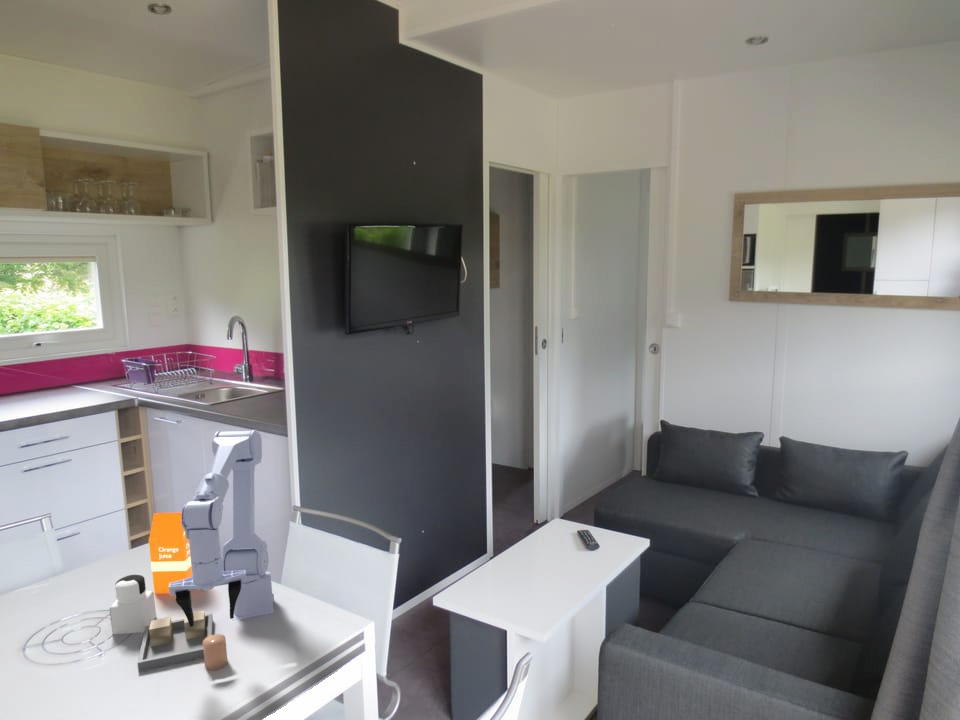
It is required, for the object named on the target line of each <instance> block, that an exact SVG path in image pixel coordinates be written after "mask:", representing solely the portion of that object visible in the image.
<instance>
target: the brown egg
mask: <svg viewBox="0 0 960 720" xmlns="http://www.w3.org/2000/svg"><path fill="white" fill-rule="evenodd" d="M226 641H227V640H226V636H225V635H224V634H221V633H217V634H216V633H215V634H213V635H211V636H209V637H207V638H205V639H204V640H203V652H204V658H203V659H204V660H203V661H204V667H205V669H206V670H207V671H209V672H210V671H211V672H212V671H218V670H221V669H223V668H224V667H226V666H227V664H228V662H229V661H228V650H227V642H226Z"/></svg>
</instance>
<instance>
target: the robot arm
mask: <svg viewBox="0 0 960 720" xmlns="http://www.w3.org/2000/svg"><path fill="white" fill-rule="evenodd" d="M262 443H263V442H262V436H261V433H260V432H259V430H257V429H252V430H233V431H232V430H230V431H229V430H227V431H226V430H225V431H221V430H217V431H216V432H215V434H214V435H213V437H212V442H211V448H212V449H211V451H212V452H213V456H214V459H213V461H212V465H211V468H210V471H209V472H210V473H207V474H205V475H204V476H203V477H202V478H201V480H200V482H199V484H198V487H197V489H196V491H195V493H194V495H193V497H192V500H190V501H188V502H187V503H185V504H184V505H183V507H182V509H181V512H180V513H181V525H182V528H183V529H184V531H185V538H186V539H188V540H189V548H190V558H191V568H192V577H189V578H186V579H183V580H180V581H176V582H172V583H169V593H168V594H169V596H170V597H171V596H175V602H176V604H177V605H178V606H179V607H180V609H181V610H182V611H183V613H184V616H185V615H186V617H187V619H188V622H189V625H190V627H192V626H194V616H193V612H194V611H193V607H192V594H191V591H197V590H202V591H210V590H213V589H214V588H215V587H218V586H219V587H220V586H224V585H225V586H226V585H227V590H228V600H229V618H230V620H231V621H237V620H242V619H243V620H244V619H248V618H252V617H257V616H263V615H268V614H272V613H274V612H275V610H274V602H275V595H274V593H273V587H272V577H271V576H272V575H271V571H268V568H269V552H268V545H267V542H266V541H265V539H263V538H262V537H260V536H258V535H257V534H256V533H255V470H256V469H255V468H256V466H257V465H258V464H260V463H262V456H263V454H262V453H263V452H262V451H263V449H262V447H263V445H262ZM231 471H232V526H233V527H232V537H231V538H230V539H229V540H228V541H226V542H225V543H224V544H223V546H222V549H221V543H220V541H221V540H220V530H219V527H220V525H221V524H222V518H223V510H224V505H223V502H224V500H225V497H226V495H227V492H228V490H229V487H230V483H229V480H228V477H229V476H230V473H231ZM221 550H222V551H221Z"/></svg>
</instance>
